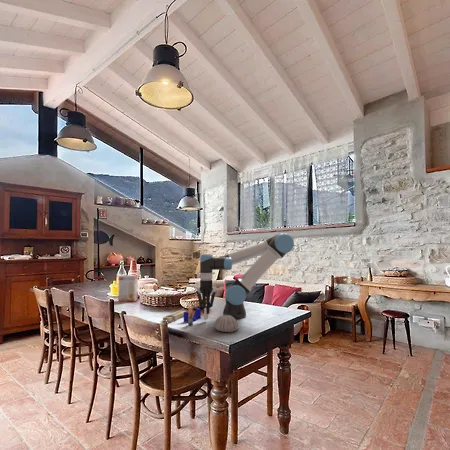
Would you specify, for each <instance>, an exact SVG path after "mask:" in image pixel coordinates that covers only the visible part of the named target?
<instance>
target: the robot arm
mask: <svg viewBox="0 0 450 450" xmlns="http://www.w3.org/2000/svg"><path fill="white" fill-rule="evenodd" d="M294 246H295V241H294V239H293V237H292V236H291V235H290V234H288V233H285V232H284V233H283V232H281V233H278V234H276V235H273V236H272V237H269V238H267V239H264V241H263V242H260V243H258V244H254V245H251V246H248V247H245V248H243V249H239V250H236V251H233V252H231V253H228V254H225V255H222V256H219V257H215V256H214V257H213V254H207V253H206V254H205V253H204V254H201V255H200V256H199V257H200V259H199V278H200V280H199V289H198V290H196V291H195V294H196V295H197V299H198V304H199V307H200V308H202V314H203V320H204V321H206V320H208V319H209V314H210V309H211V308H212V307H213V305H214V301H215V297H216V294H217V291H215V290H214V288H213V271H215V270H217V271H228V270H229V271H231V270H232V269H233V265H237V264H239V263H242V262H246V261H248V260H251V259H254V258H257V257H258V259H257V260H256V261H255V262H254V263H253V264H252V265H251V266H250V268H248V269H247V271H246V272H244V274H243V275H242V276H241V277H237V278H236V279H233V280H232V279H230V280H228V279H227V280H225V284H224V286H225V289H224V290H225V303H224V304H225V305H224V308H223V311H222V316H223V315H231V316H233V317H234V318H235V319H236V320H237V319H243V318H246V317H247V311H246V309H245V305H244V302H245V301H246V298H247V297H248V296H249V294H251V292H252V288H253V286H254V285H255V284H256V283H257V282H258V281H259V280H260V279H261V277H262V276H264V274H265V273H266V272H267V271H268V270H269V269H270V268H271V267H272V266H273V265H274V264H275V262H277V260H281V259H282V258H284V257H285V256H286V254H288V253H290V252H291V251H292V250H293V249H294ZM259 256H260V257H259Z"/></svg>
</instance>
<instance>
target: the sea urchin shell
mask: <svg viewBox="0 0 450 450" xmlns="http://www.w3.org/2000/svg"><path fill="white" fill-rule="evenodd" d="M214 328H215V329H216V330H217V331H219V332H222V333H224V332H225V333H232V332H235V331H237V330H238V329H239V322H238V320H237V319H235V318H234V317H233V316H231V315H223V314H222V315H221V316H219V317H218V318H216V320H215V321H214Z"/></svg>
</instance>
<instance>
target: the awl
mask: <svg viewBox="0 0 450 450" xmlns="http://www.w3.org/2000/svg"><path fill="white" fill-rule="evenodd" d="M187 312H188V322H187V324H188V326H189V327H190V326H193V325H194V321H193V315H194V307H193V306H189V307H188V310H187Z"/></svg>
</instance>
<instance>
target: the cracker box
mask: <svg viewBox="0 0 450 450" xmlns="http://www.w3.org/2000/svg"><path fill="white" fill-rule="evenodd" d="M136 300H137V301H138V275H126V274H125V275H119V276H118V302H119V301H135V302H137V301H136Z"/></svg>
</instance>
